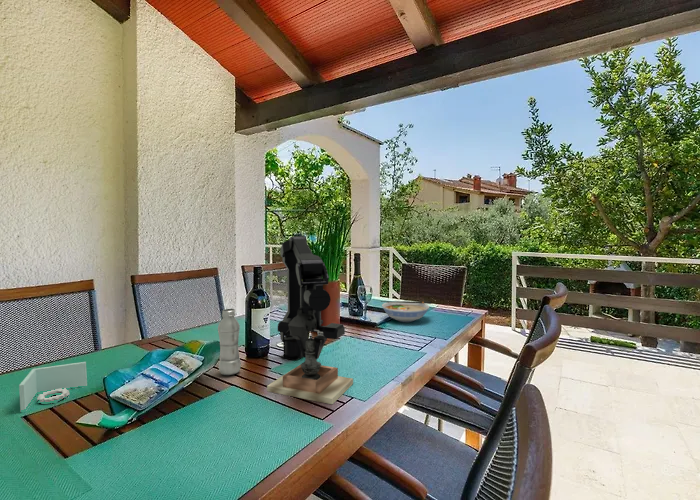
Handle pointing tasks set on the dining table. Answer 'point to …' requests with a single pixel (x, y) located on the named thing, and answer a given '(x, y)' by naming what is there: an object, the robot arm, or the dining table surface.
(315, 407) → the dining table surface
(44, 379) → the right angle wall
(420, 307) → the ramen bowl
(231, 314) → the plastic bottle
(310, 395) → the shaker holder
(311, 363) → the salt shaker
